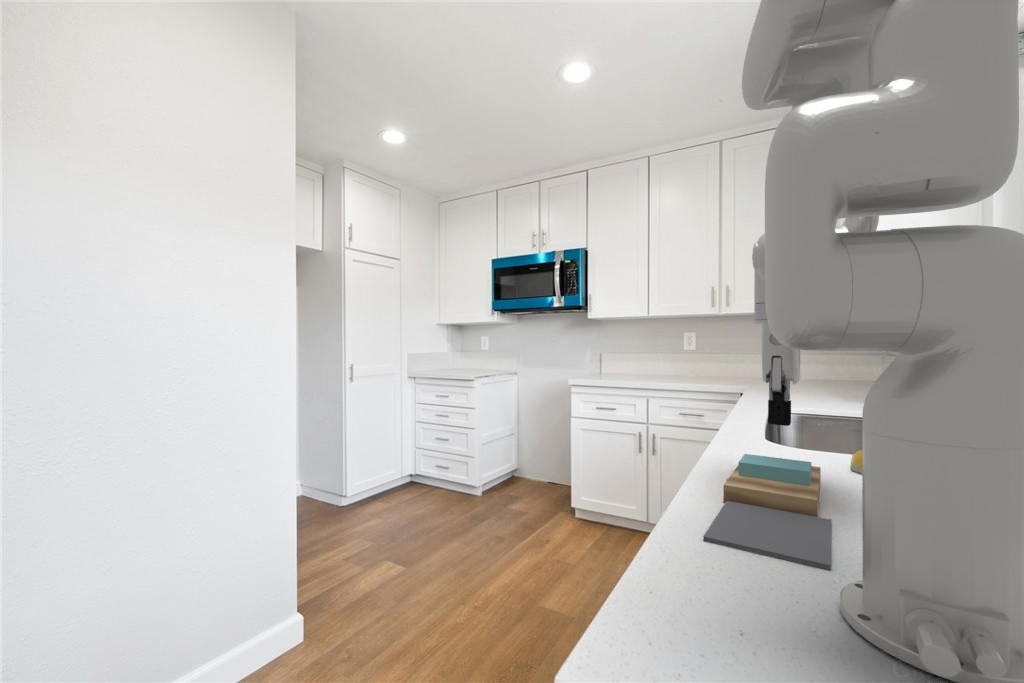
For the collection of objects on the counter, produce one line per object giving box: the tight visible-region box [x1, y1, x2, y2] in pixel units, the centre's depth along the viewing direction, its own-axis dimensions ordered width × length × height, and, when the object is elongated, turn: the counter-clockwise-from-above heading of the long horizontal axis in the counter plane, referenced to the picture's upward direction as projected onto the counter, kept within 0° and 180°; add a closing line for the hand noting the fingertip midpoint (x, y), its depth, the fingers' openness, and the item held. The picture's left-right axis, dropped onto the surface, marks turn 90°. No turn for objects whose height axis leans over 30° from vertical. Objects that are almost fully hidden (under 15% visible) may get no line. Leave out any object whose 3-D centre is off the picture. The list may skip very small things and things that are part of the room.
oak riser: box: [723, 464, 822, 517], centre depth 69 cm, size 18×11×2 cm, turn 145°
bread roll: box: [850, 449, 862, 475], centre depth 79 cm, size 8×9×4 cm
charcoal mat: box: [702, 501, 832, 571], centre depth 55 cm, size 14×12×1 cm
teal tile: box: [738, 453, 812, 486], centre depth 69 cm, size 6×9×2 cm, turn 55°
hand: (779, 423), depth 77 cm, fingers closed
